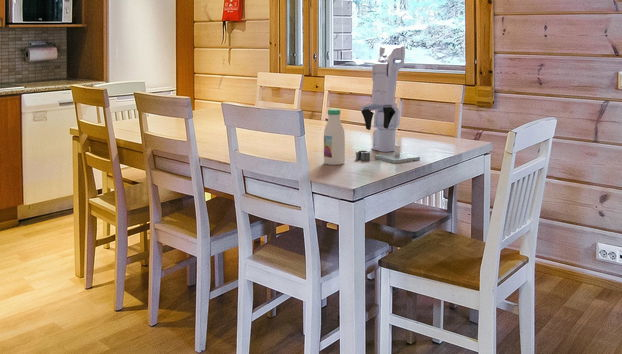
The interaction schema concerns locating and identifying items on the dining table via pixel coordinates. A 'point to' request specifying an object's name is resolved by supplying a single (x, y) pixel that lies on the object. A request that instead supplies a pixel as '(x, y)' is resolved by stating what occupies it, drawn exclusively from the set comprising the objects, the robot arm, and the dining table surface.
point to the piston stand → (397, 156)
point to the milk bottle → (334, 139)
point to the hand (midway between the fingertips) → (376, 128)
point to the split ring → (363, 155)
